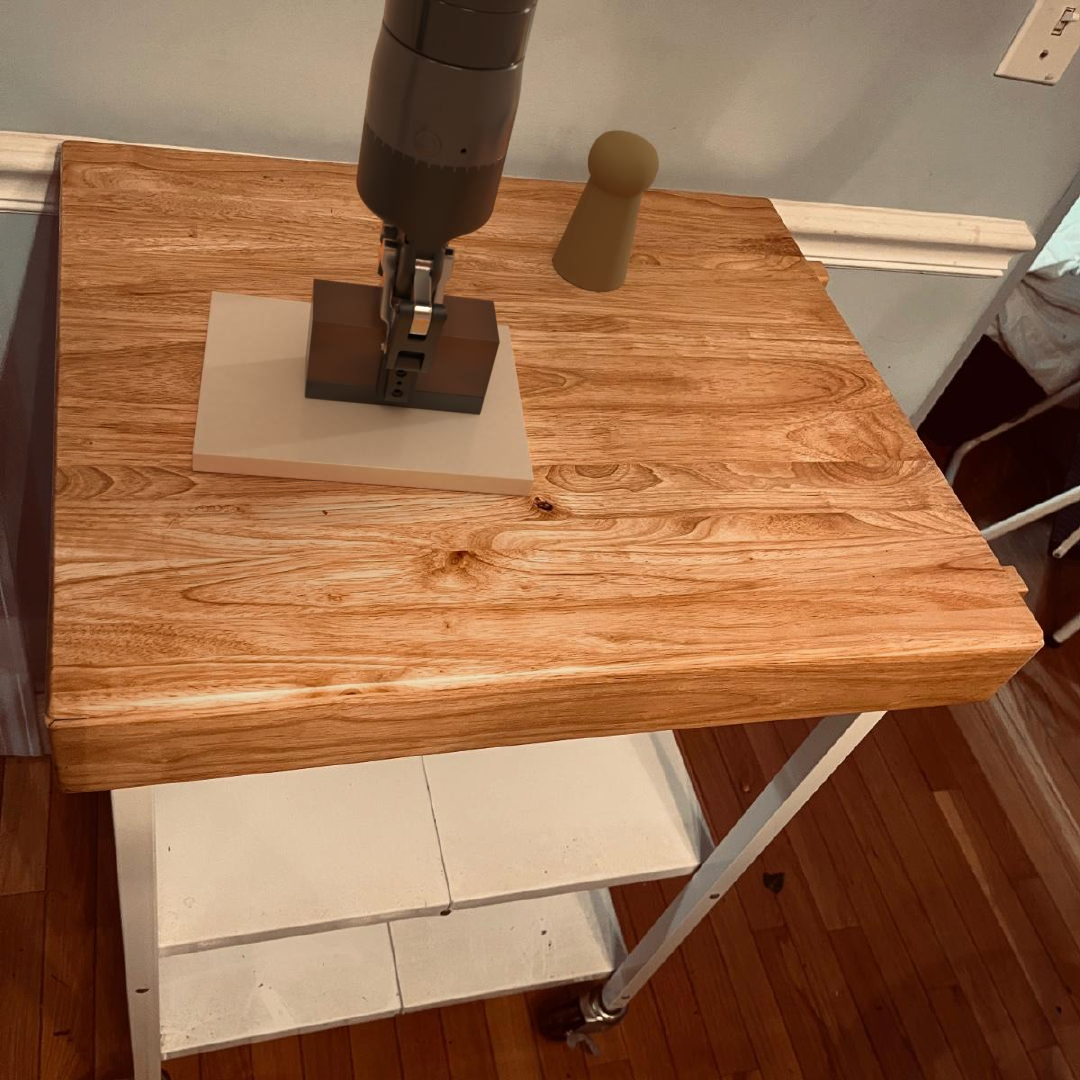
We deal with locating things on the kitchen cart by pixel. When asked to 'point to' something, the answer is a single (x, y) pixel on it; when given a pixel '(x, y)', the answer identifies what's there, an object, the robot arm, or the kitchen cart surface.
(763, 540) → the kitchen cart surface
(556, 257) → the olive brown pawn
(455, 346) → the dark brown block
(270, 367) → the tile
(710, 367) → the kitchen cart surface
